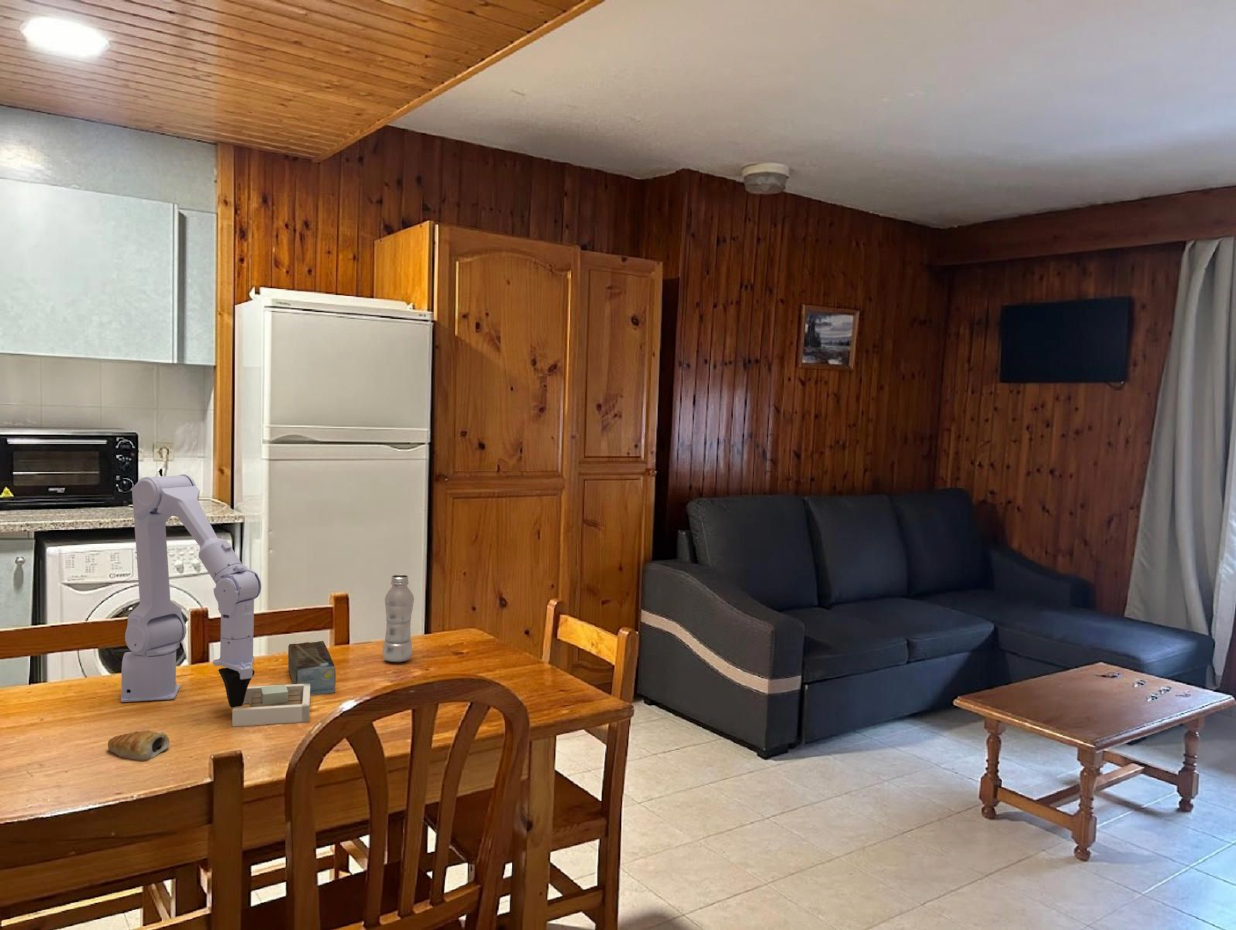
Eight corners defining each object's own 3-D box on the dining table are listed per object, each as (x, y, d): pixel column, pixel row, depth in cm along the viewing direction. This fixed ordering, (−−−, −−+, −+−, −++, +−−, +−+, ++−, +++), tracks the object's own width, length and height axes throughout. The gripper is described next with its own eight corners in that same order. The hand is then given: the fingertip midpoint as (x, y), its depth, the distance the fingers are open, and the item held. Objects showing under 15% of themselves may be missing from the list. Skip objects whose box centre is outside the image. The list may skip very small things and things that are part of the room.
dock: (232, 726, 162) (232, 710, 162) (239, 702, 175) (239, 687, 175) (308, 721, 166) (309, 705, 166) (309, 697, 179) (310, 683, 179)
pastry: (96, 756, 147) (96, 734, 147) (126, 742, 154) (126, 720, 154) (146, 763, 145) (146, 740, 145) (174, 748, 152) (174, 726, 152)
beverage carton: (295, 698, 179) (295, 666, 179) (286, 670, 196) (287, 641, 196) (336, 694, 183) (336, 662, 182) (324, 667, 200) (324, 638, 199)
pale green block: (262, 704, 168) (262, 694, 168) (260, 697, 172) (260, 686, 172) (287, 702, 170) (288, 691, 170) (285, 694, 174) (285, 684, 174)
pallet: (249, 723, 166) (249, 708, 166) (251, 707, 174) (251, 693, 174) (300, 719, 169) (300, 705, 169) (300, 703, 177) (300, 689, 177)
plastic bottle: (384, 657, 209) (386, 573, 207) (413, 657, 210) (416, 573, 208) (380, 665, 202) (382, 578, 201) (410, 665, 203) (413, 579, 202)
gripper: (205, 628, 171) (204, 697, 172) (224, 647, 159) (222, 721, 160) (243, 624, 175) (242, 692, 176) (264, 642, 164) (263, 714, 164)
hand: (235, 705), depth 168 cm, fingers closed
